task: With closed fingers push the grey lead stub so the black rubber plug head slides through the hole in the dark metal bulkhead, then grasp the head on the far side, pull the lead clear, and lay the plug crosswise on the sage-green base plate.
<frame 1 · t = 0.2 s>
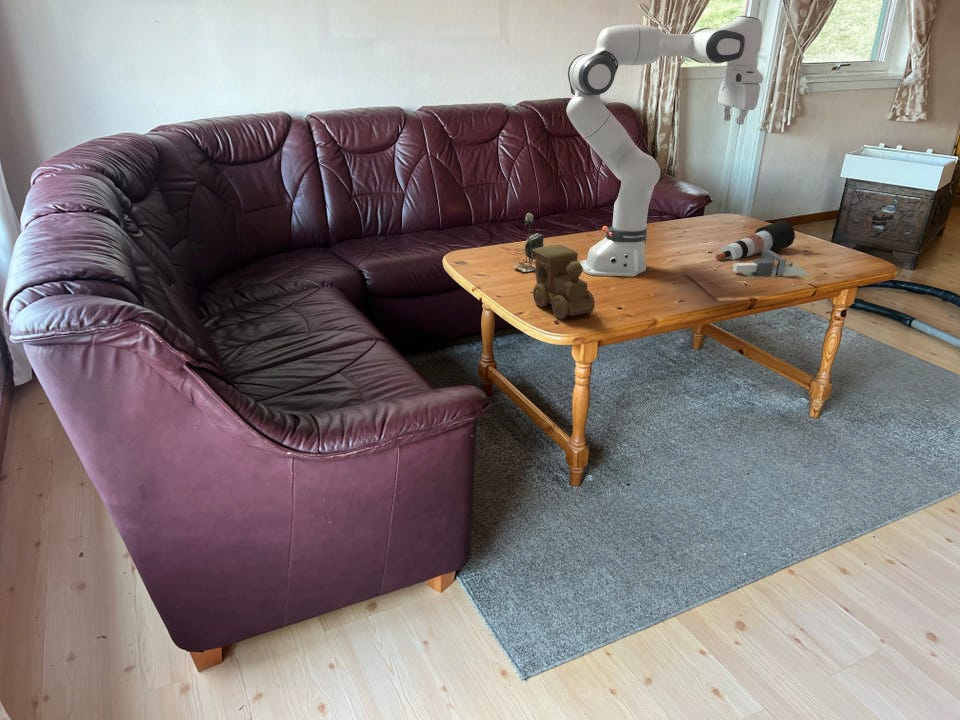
hand: (733, 122, 214), 47 cm above the table, fingers open, 8 cm apart
housing: (770, 273, 227), on the table
cable: (749, 257, 244), on the table
wooden toy train: (561, 310, 198), on the table
plug: (761, 272, 224), point 1 cm above the table, touching housing
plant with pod: (529, 269, 231), on the table
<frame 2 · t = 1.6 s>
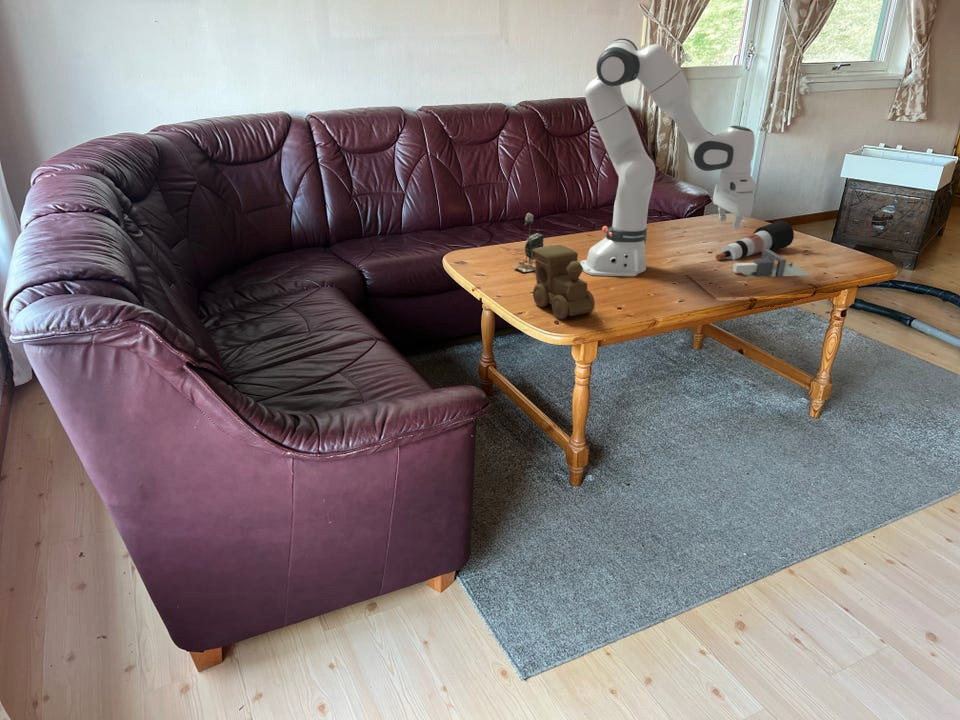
hand: (728, 224, 216), 18 cm above the table, fingers open, 8 cm apart
nothing on the table moved.
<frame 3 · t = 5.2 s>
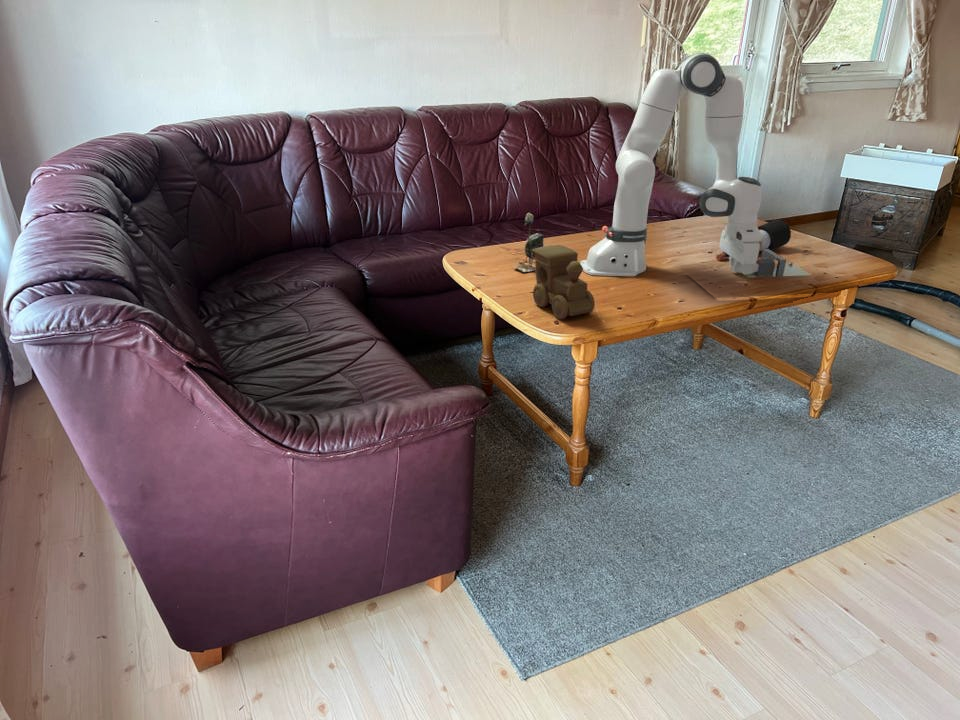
hand: (733, 270, 222), 2 cm above the table, fingers closed, pressing on plug
plug: (762, 272, 224), point 1 cm above the table, touching gripper
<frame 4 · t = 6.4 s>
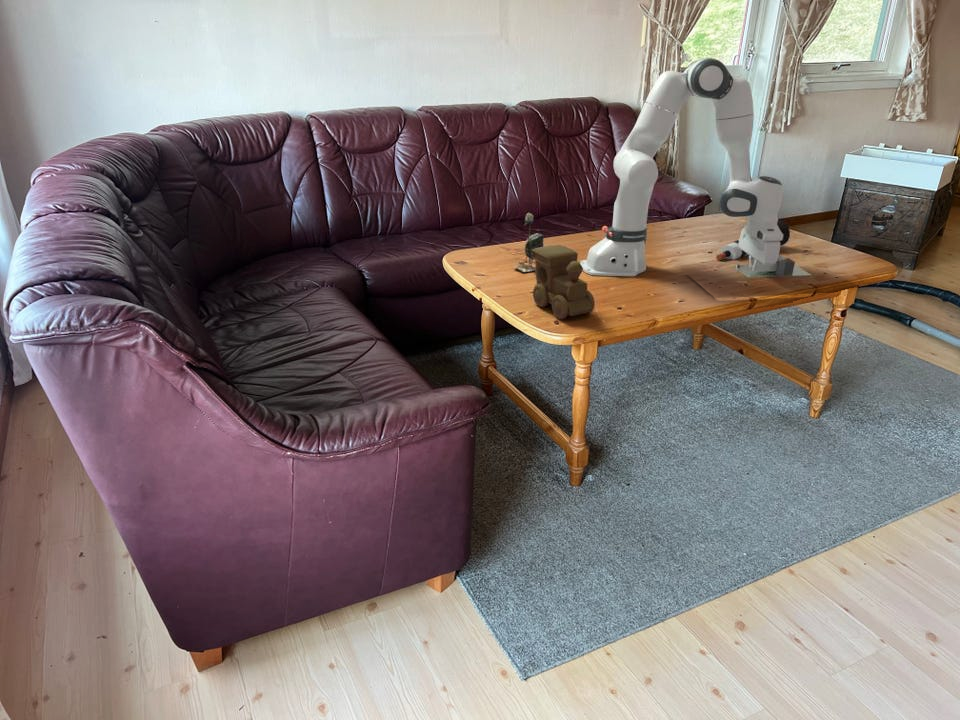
hand: (753, 269, 223), 2 cm above the table, fingers closed, pressing on plug
plug: (782, 271, 225), point 1 cm above the table, touching gripper
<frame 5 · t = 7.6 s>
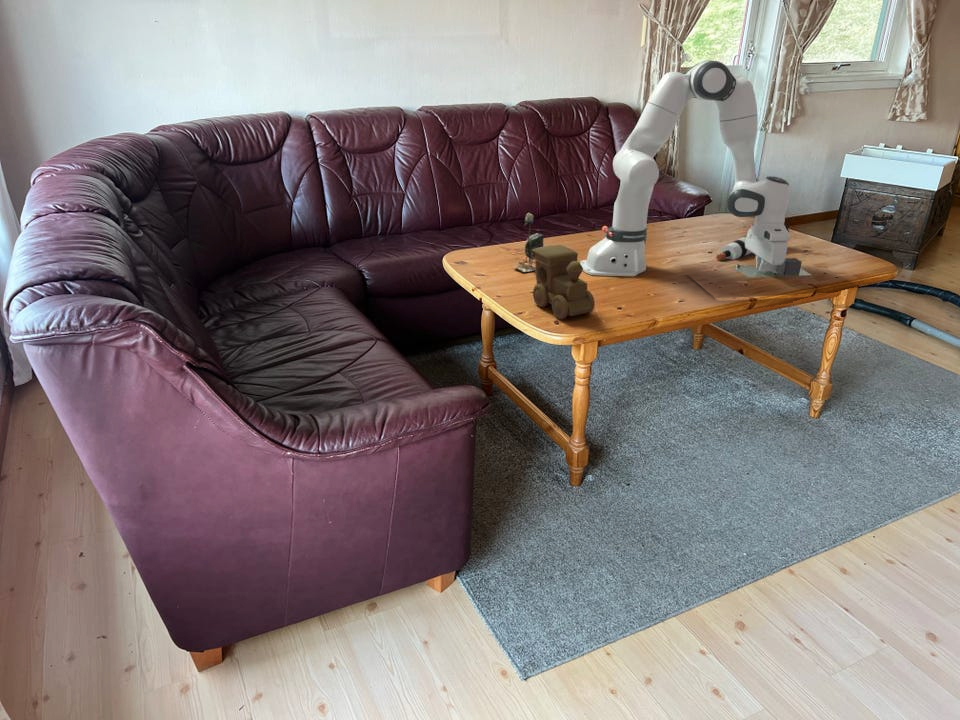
hand: (760, 269, 223), 2 cm above the table, fingers closed, pressing on plug
plug: (789, 271, 225), point 1 cm above the table, touching gripper, housing
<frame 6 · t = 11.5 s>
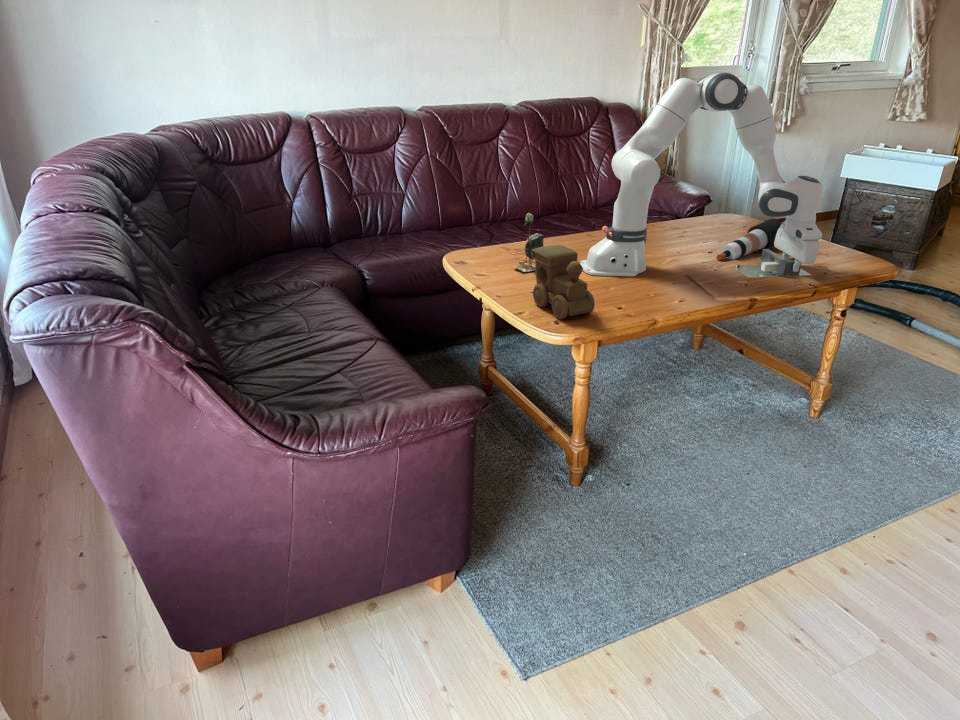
hand: (790, 268, 224), 2 cm above the table, fingers closed on plug, 4 cm apart
plug: (789, 271, 225), point 1 cm above the table, touching gripper, housing
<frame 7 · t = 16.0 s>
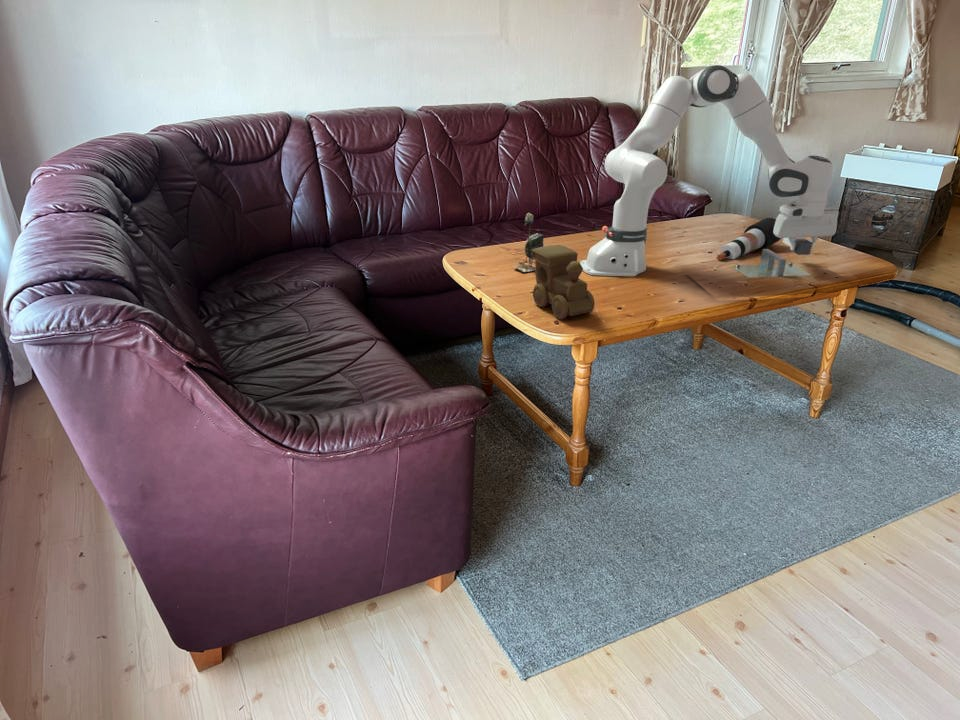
hand: (800, 249, 224), 8 cm above the table, fingers closed on plug, 4 cm apart
plug: (800, 252, 225), point 7 cm above the table, touching gripper
when the fingers open (4 cm above the table, at t = 16.9 s): plug drops 2 cm, resting on housing.
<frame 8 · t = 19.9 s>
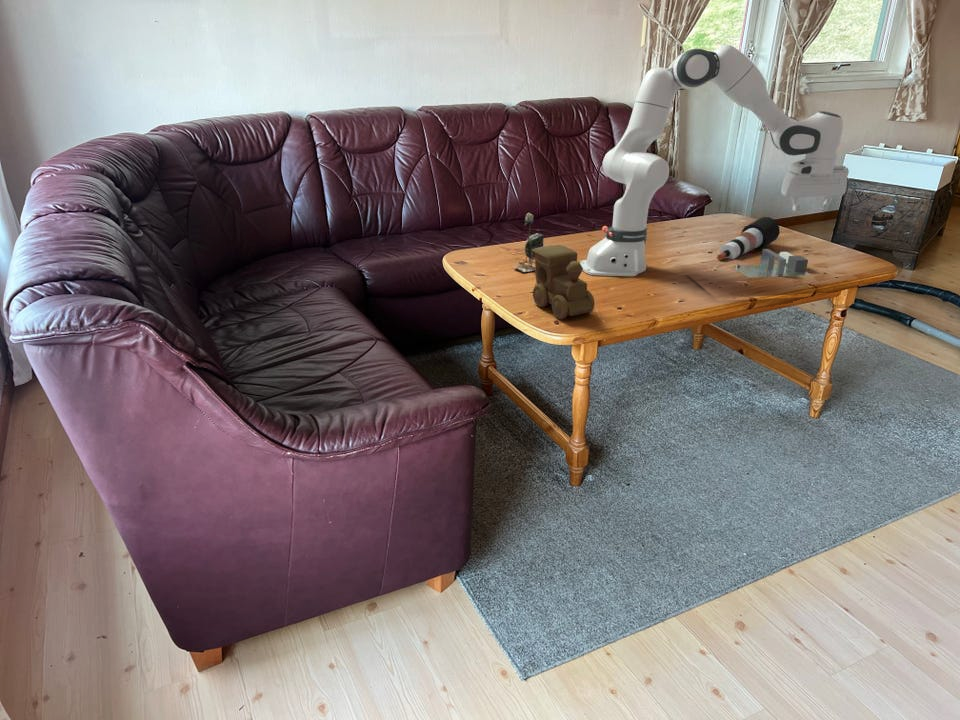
hand: (809, 210, 218), 21 cm above the table, fingers open, 8 cm apart
plug: (796, 269, 227), point 1 cm above the table, touching housing
at the end: plug inside the target area (0.1 cm from its centre), point 1.0 cm above the table; the gripper is holding nothing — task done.
